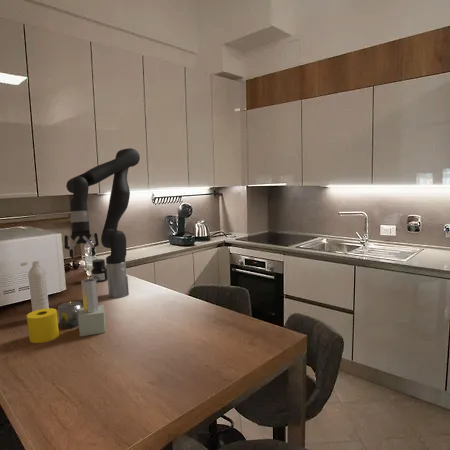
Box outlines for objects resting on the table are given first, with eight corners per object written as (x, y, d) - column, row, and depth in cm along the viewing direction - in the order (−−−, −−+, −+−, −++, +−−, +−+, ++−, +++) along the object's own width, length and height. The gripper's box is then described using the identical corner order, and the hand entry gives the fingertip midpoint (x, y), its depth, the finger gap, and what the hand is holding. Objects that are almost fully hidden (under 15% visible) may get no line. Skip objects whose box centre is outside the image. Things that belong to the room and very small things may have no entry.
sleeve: (98, 307, 142) (96, 277, 140) (98, 311, 137) (95, 281, 135) (84, 308, 140) (82, 279, 139) (83, 313, 135) (81, 282, 134)
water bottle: (50, 314, 158) (44, 259, 155) (50, 319, 152) (44, 262, 149) (27, 318, 154) (21, 261, 151) (26, 323, 148) (20, 265, 145)
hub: (82, 318, 152) (80, 296, 151) (84, 325, 144) (82, 302, 143) (59, 322, 148) (56, 300, 147) (60, 330, 140) (57, 307, 139)
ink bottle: (88, 282, 206) (86, 262, 204) (97, 278, 215) (95, 258, 213) (103, 282, 204) (101, 262, 202) (111, 278, 212) (110, 258, 211)
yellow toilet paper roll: (64, 332, 138) (62, 309, 137) (45, 344, 129) (42, 319, 128) (43, 330, 141) (41, 307, 140) (23, 341, 132) (20, 317, 130)
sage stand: (105, 323, 145) (103, 301, 144) (105, 332, 137) (103, 308, 136) (81, 327, 143) (79, 304, 141) (79, 336, 134) (77, 312, 133)
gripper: (96, 220, 167) (99, 255, 167) (63, 222, 163) (66, 258, 163) (96, 219, 160) (99, 255, 160) (61, 222, 156) (64, 259, 156)
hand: (82, 257), depth 161 cm, fingers open, 8 cm apart
